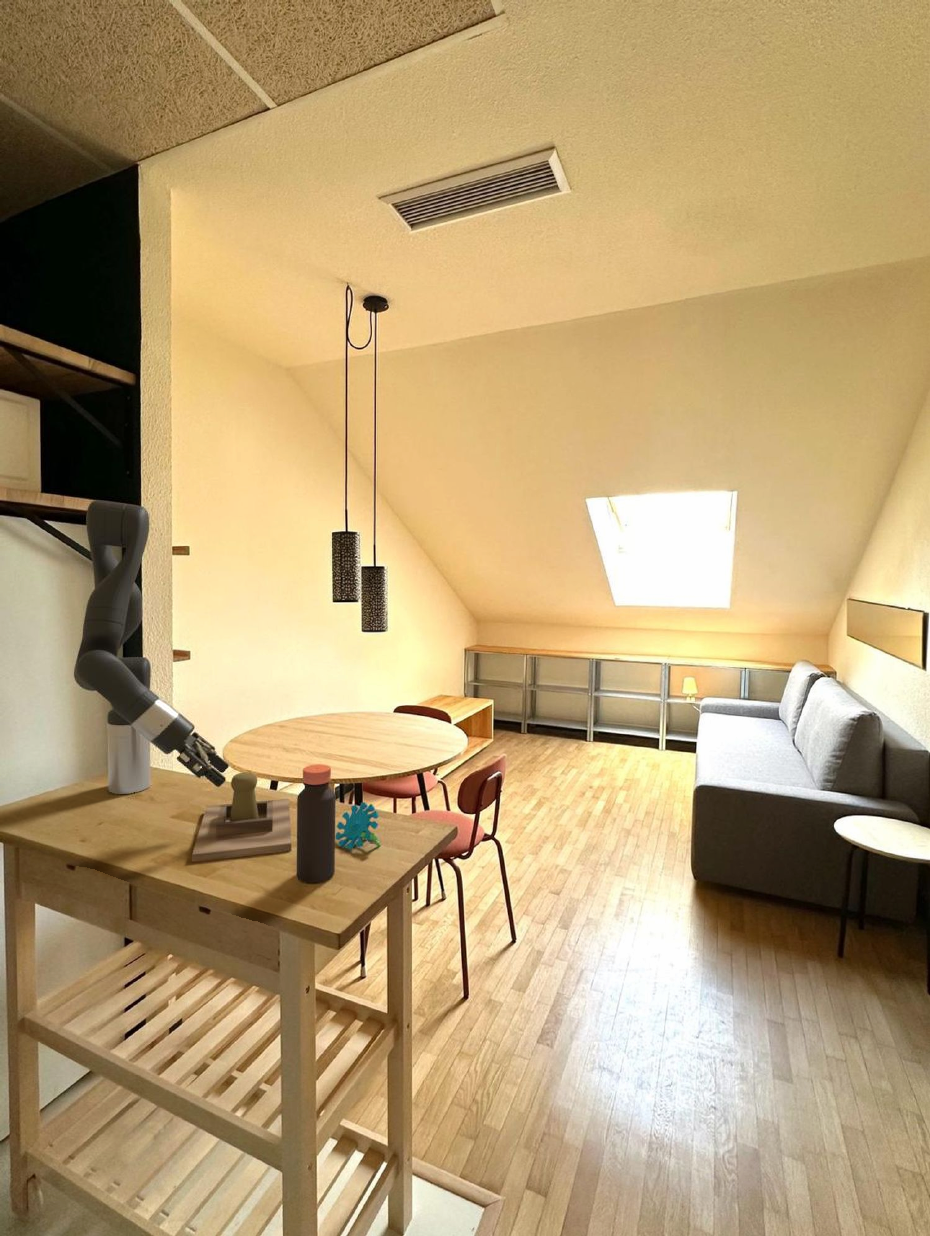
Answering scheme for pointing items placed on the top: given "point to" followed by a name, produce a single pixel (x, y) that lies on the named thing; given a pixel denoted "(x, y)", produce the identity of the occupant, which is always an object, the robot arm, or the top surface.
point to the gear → (358, 827)
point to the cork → (244, 797)
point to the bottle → (316, 826)
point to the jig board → (243, 832)
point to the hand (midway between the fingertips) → (224, 776)
